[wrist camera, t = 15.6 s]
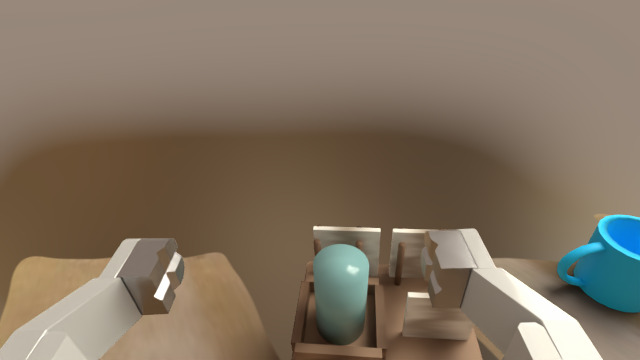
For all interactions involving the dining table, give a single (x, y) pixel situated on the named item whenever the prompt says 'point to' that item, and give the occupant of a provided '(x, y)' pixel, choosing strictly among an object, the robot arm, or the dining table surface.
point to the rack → (386, 306)
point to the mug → (608, 264)
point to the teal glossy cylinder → (340, 293)
